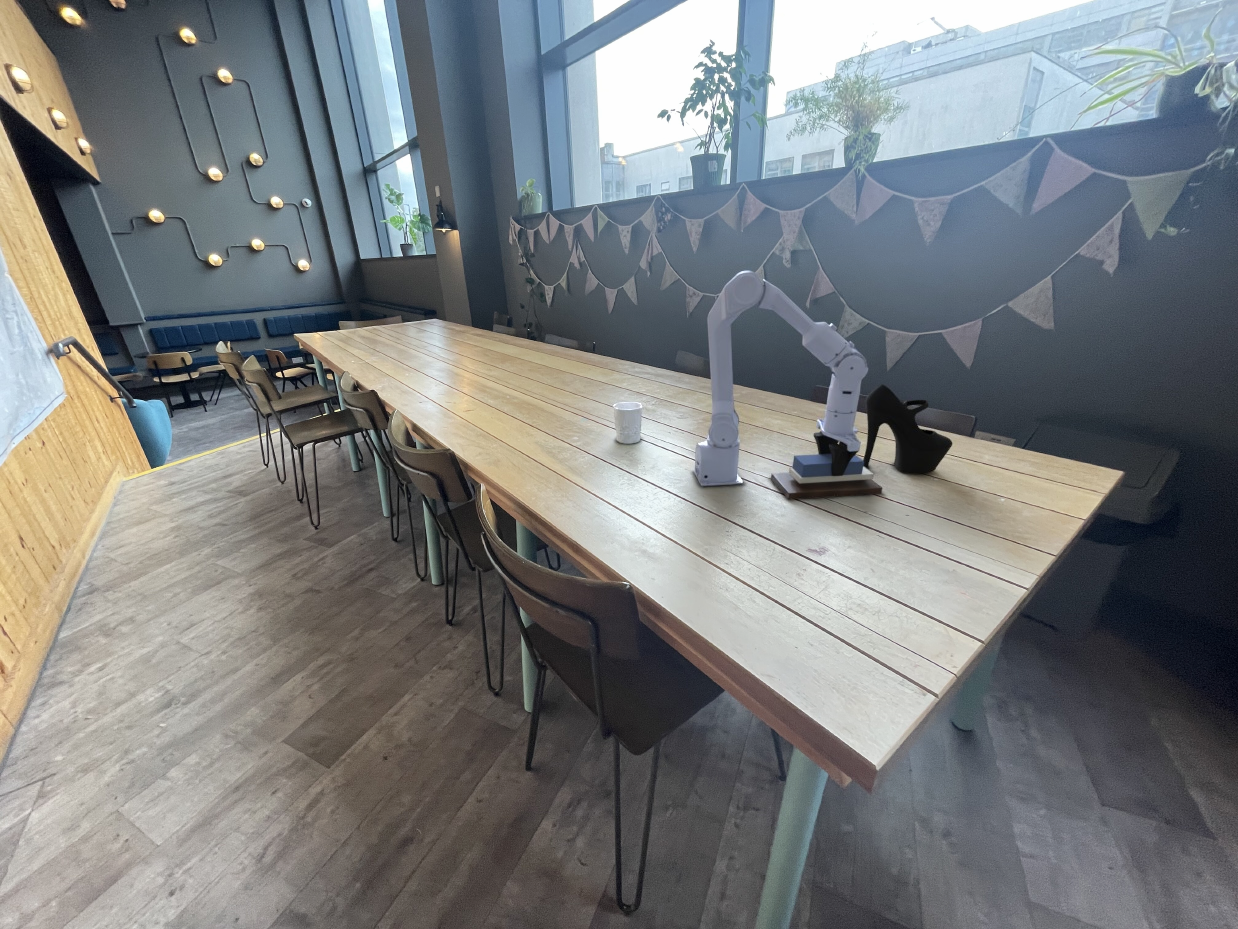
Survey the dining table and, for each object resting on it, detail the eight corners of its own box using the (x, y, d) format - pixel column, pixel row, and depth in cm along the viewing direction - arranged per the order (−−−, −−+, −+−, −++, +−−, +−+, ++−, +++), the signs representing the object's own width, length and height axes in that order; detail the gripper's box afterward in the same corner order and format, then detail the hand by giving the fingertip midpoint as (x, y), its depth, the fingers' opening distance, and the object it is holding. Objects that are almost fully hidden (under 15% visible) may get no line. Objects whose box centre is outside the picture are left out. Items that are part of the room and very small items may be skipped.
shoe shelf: (788, 499, 98) (789, 493, 97) (770, 479, 107) (771, 473, 106) (881, 494, 98) (882, 487, 98) (856, 474, 108) (857, 468, 107)
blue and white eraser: (799, 483, 99) (801, 465, 97) (788, 472, 104) (791, 455, 102) (873, 479, 100) (876, 461, 98) (859, 468, 105) (862, 451, 103)
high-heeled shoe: (949, 477, 105) (974, 389, 97) (857, 472, 108) (874, 388, 100) (935, 463, 112) (957, 380, 104) (849, 459, 115) (864, 379, 107)
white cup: (642, 444, 129) (642, 409, 125) (614, 445, 129) (612, 410, 125) (642, 434, 136) (641, 401, 132) (615, 435, 136) (613, 401, 132)
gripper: (880, 419, 89) (867, 483, 95) (842, 398, 102) (832, 456, 108) (844, 421, 89) (833, 485, 94) (810, 400, 102) (802, 457, 108)
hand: (831, 470), depth 101 cm, fingers closed on blue and white eraser, 5 cm apart
